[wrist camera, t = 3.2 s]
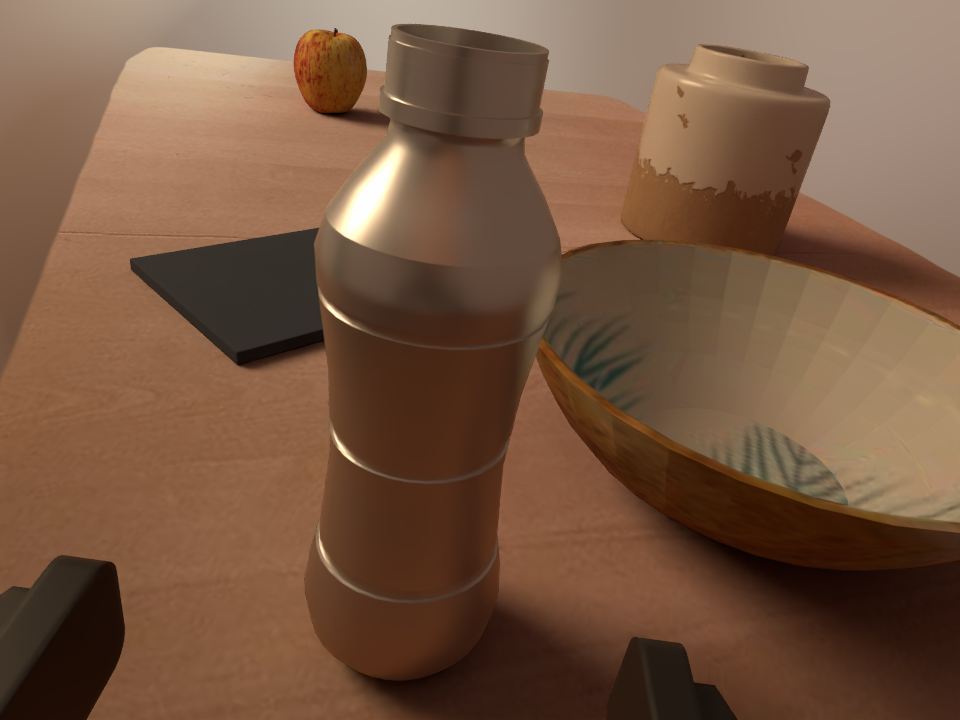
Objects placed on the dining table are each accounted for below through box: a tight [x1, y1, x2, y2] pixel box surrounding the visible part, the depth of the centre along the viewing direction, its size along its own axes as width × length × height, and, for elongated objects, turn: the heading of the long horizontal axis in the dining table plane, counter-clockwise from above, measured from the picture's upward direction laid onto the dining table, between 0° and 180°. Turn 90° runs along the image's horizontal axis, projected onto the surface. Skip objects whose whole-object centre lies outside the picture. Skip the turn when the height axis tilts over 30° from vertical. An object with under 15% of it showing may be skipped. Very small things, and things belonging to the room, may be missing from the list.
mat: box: [130, 228, 324, 364], centre depth 49 cm, size 16×14×1 cm
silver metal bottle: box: [304, 24, 563, 681], centre depth 22 cm, size 6×7×20 cm
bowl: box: [536, 240, 960, 570], centre depth 36 cm, size 25×25×8 cm
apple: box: [294, 28, 367, 113], centre depth 92 cm, size 9×9×10 cm
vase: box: [622, 44, 830, 256], centre depth 68 cm, size 15×15×17 cm
